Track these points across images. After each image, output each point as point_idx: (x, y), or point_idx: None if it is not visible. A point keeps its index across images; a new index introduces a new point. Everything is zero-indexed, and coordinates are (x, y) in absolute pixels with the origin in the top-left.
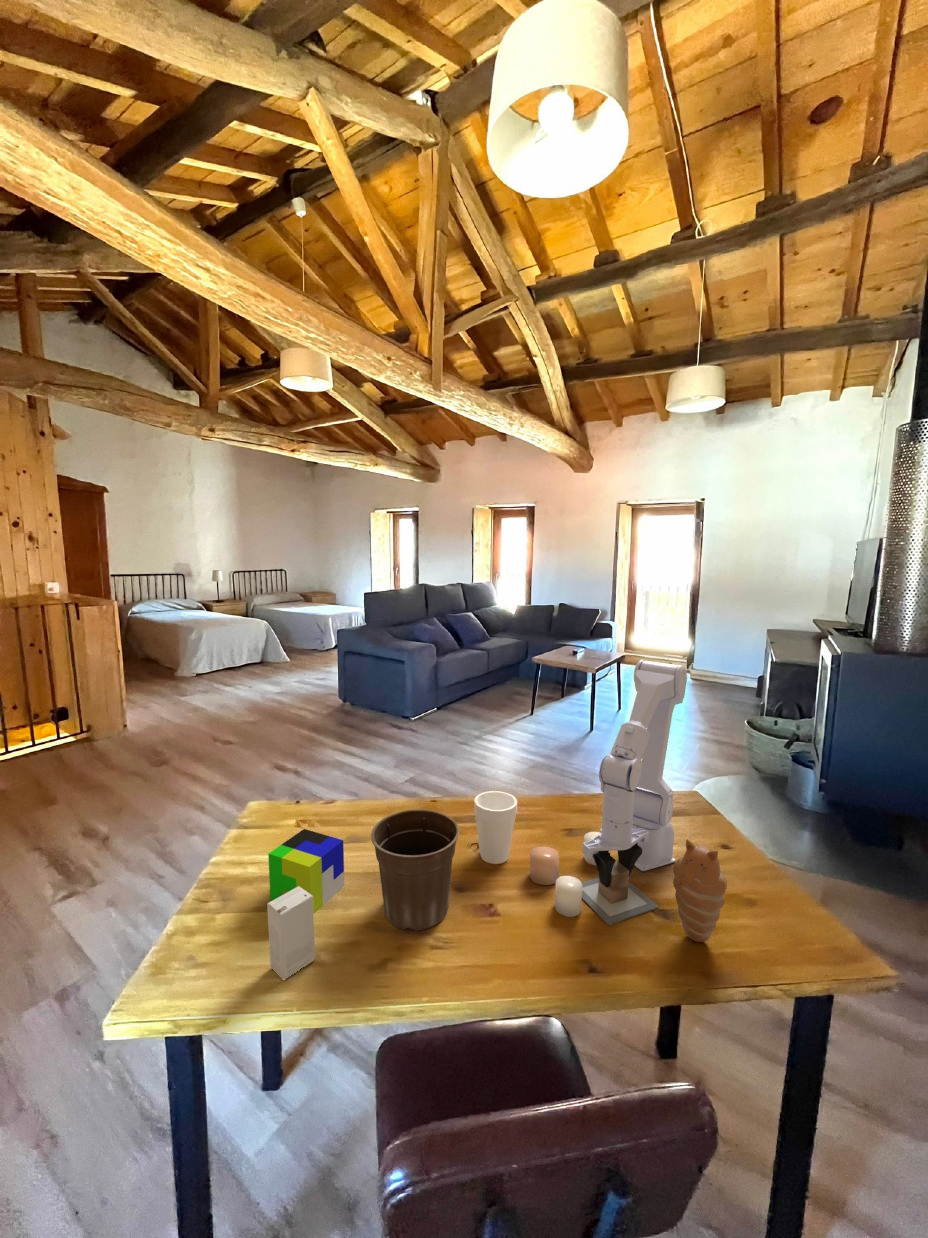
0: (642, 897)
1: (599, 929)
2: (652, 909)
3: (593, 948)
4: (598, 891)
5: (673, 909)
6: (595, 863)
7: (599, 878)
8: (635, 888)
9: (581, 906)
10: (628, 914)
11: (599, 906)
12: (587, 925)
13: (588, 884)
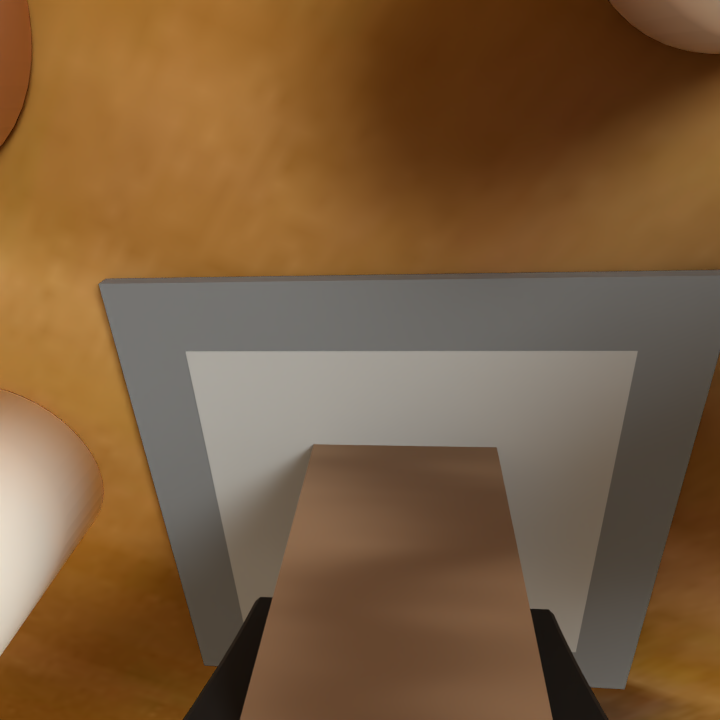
0: (605, 607)
1: (142, 653)
2: None
3: (55, 710)
4: (313, 451)
5: (698, 710)
6: (635, 12)
7: (243, 624)
8: (656, 524)
9: (80, 540)
10: None
11: (229, 557)
12: (84, 613)
13: (286, 334)
